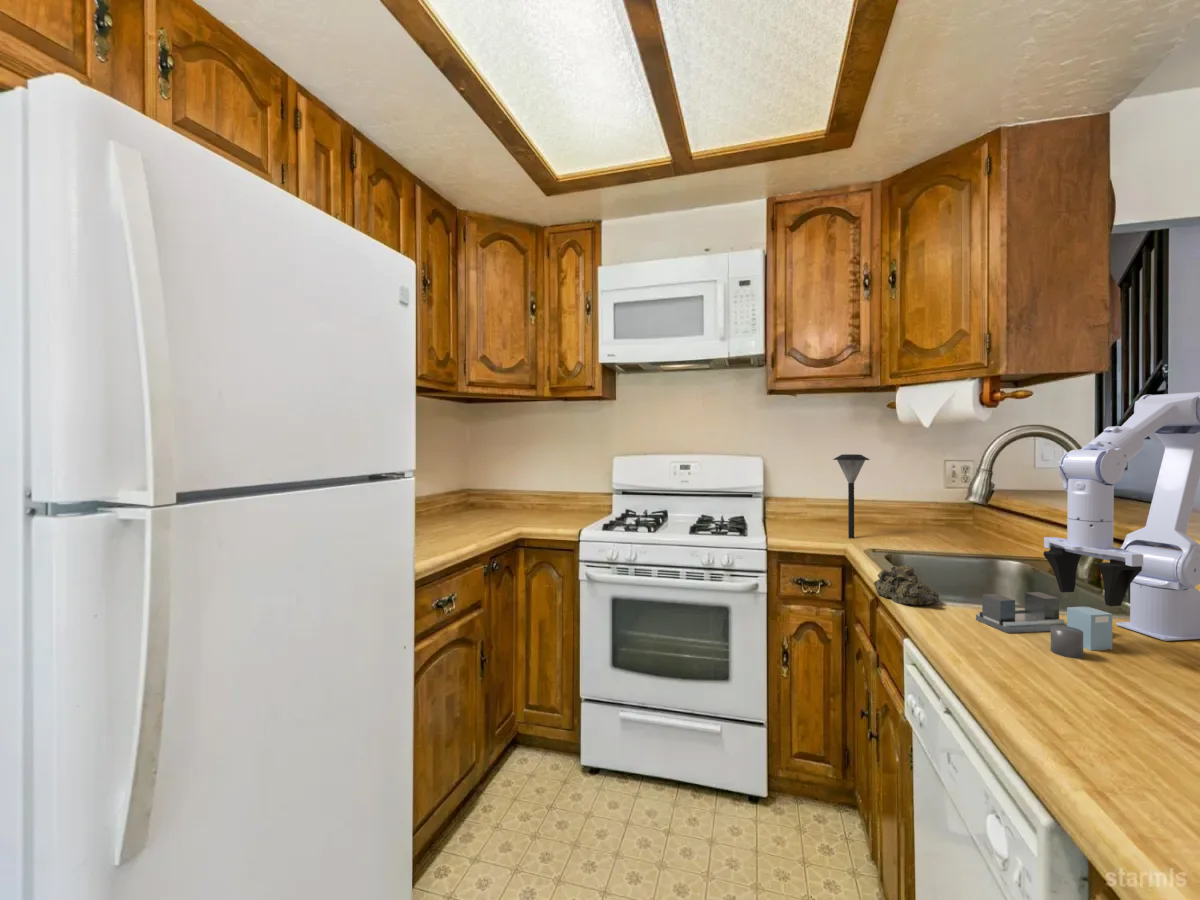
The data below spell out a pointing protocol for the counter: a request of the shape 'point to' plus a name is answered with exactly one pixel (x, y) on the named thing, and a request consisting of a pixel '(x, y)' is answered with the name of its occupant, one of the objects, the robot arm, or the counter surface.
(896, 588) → the rock
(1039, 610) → the rail base
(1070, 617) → the block
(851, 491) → the solar garden light
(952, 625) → the counter surface
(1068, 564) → the robot arm
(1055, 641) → the grey rounded cylinder
